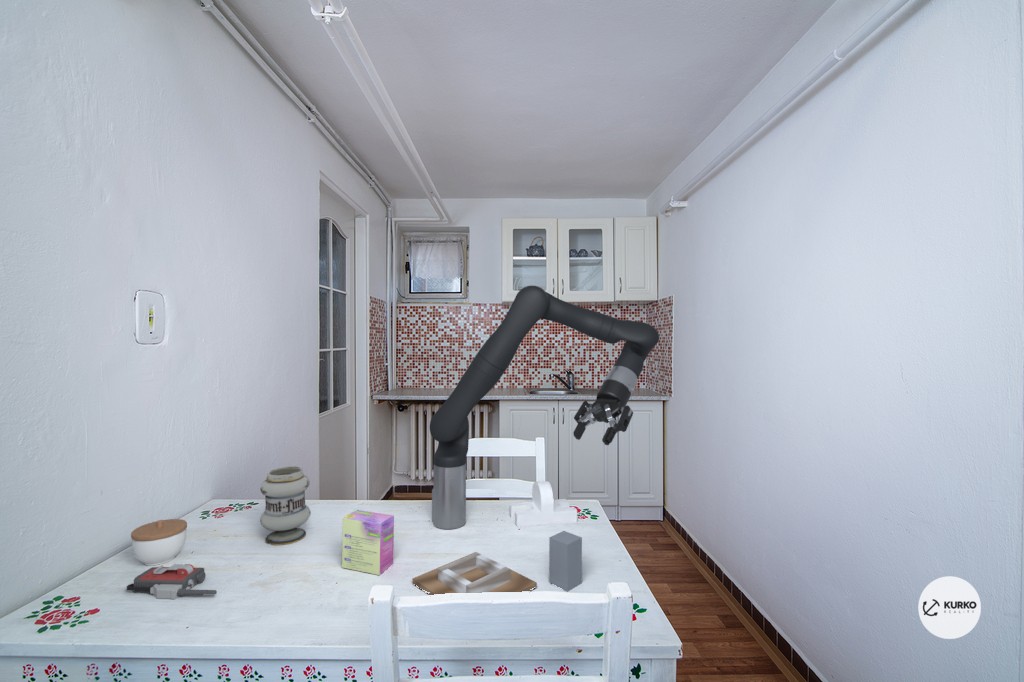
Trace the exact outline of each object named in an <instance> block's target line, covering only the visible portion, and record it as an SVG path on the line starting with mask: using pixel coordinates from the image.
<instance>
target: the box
mask: <svg viewBox="0 0 1024 682" xmlns="http://www.w3.org/2000/svg"><path fill="white" fill-rule="evenodd" d="M341 529H342V538H341V539H342V540H341V542H342V543H341V545H342V547H341V560H342V561H341V563H342V564H341V568H343V569H348V570H353V571H359V572H362V573H368V574H372V575H376V576H381V575H382V574H383V573H385V572H386V571H387V570H389V569H390V568H391V567H392V566H393V565H394V546H395V545H394V539H395V538H394V537H395V533H394V532H395V515H392V514H385V513H380V512H375V511H374V512H373V511H368V510H363V509H362V510H361V509H357V510H353V512H350V513H349V514H347V515H344V516H343V517H342V528H341ZM392 564H393V565H392ZM391 565H392V566H391ZM390 566H391V567H390ZM389 567H390V568H389ZM388 568H389V569H388ZM385 570H386V571H385ZM384 571H385V572H384ZM380 574H381V575H380Z"/></svg>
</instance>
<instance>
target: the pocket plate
mask: <svg viewBox="0 0 1024 682" xmlns="http://www.w3.org/2000/svg"><path fill="white" fill-rule="evenodd" d="M411 580H412V583H413V584H415V585H417V586H418V587H419V588H421V589H423V590H425V591H427V592H430V593H429V594H427V595H428V596H429V595H434V594H445V593H482V592H522V591H531V592H532V591H533V590H530V589H532V588H534V587H536V586H537V585H538V583H537V581H535V580H532V579H530V578H528V577H527V576H524V575H523V574H521V573H518V572H516V571H515V570H513V569H510V568H509V567H507V566H505V565H503V564H501V563H499V562H497V561H495V560H494V559H491V558H489V557H487V556H485V555H483V554H481V553H479V552H477V551H475V552H472V553H470V554H468V555H467V554H466V555H465V556H463V557H460V558H457V559H456V560H454V561H451V562H449V563H446V564H444V565H441V566H438V567H436V568H433V569H432V570H429V571H427V572H424V573H422V574H420V575H418V576H415V577H412V579H411ZM413 584H412V585H413ZM415 585H414V586H415ZM418 587H417V588H418ZM537 587H538V586H537ZM419 588H418V589H419ZM421 589H420V590H421Z"/></svg>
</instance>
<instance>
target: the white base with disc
mask: <svg viewBox="0 0 1024 682" xmlns="http://www.w3.org/2000/svg"><path fill="white" fill-rule="evenodd" d="M531 490H532V493H531V496H532V497H531V501H523V502H511V503H509V517H510V518H514V526H515V527H516V526H517V527H516V528H526V527H528V526H529V527H537V526H549V525H550V526H551V525H559V524H569V523H571V524H572V523H577V522H578V509H576V507H575V506H570V501H568V500H567V498H560V499H559V498H558V499H554V494H553V488H552V485H551V483H550V482H549V481H548V480H543V481H541V480H540V481H539V480H538V481H534V482H533V484H532V489H531Z"/></svg>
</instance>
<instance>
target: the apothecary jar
mask: <svg viewBox="0 0 1024 682" xmlns="http://www.w3.org/2000/svg"><path fill="white" fill-rule="evenodd" d="M309 486H310V479H309V477H308V476H306V475H305V474H304V472H303V467H301V466H296V465H295V466H294V465H293V466H292V465H291V466H282V467H277V468H274V469H271V470H270V471H268V472H267V475H266V479H265V480H264V481H263V482H262V483H261V485H260V492H261V494H262V495H263V496H265V497H264V498H265V499H264V500H265V506H264V507H265V510H264V512H263V513H262V515H261V516H260V519H259V520H260V524H261V526H262V527H263V528H264V529H265V530H268V531H272V532H271V533H269V534H268V535H266V537H265V539H264V542H265V544H271V546H284V545H290V544H294V543H297V542H299V541H301V540H302V539H304V538H305V537H306V535H307V531H305V530H304V529H303V528H299V527H301V526H302V525H304V524H305V523H306V522H307V521H308V520H309V518H310V516H311V509H310V507H309V506H308V505H307V504H306V496H305V495H306V493H305V491H306V490H307V489H308V488H309Z"/></svg>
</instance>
